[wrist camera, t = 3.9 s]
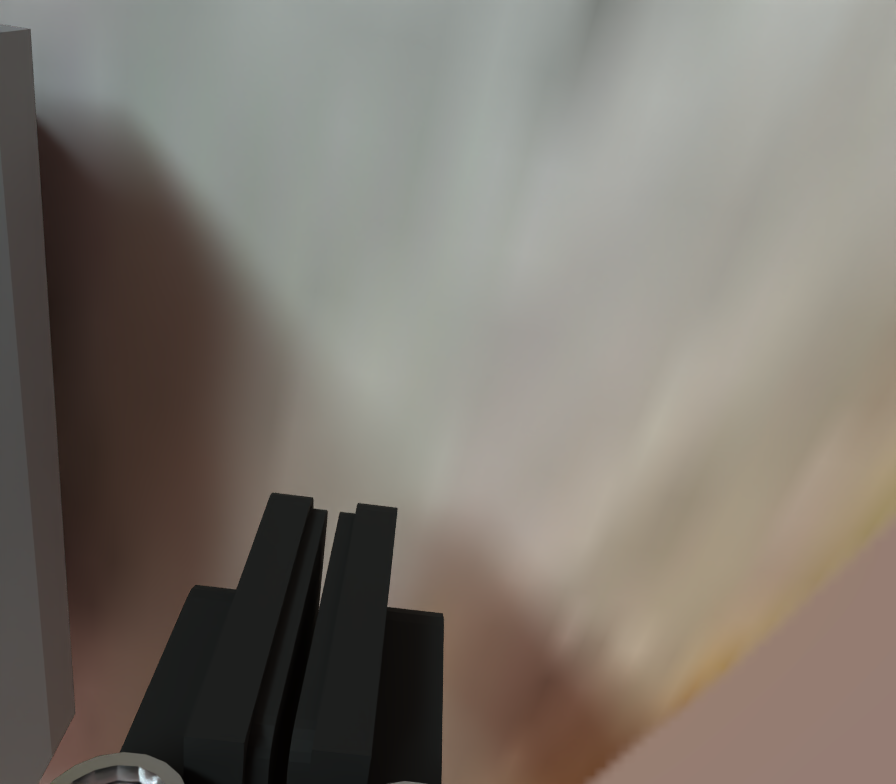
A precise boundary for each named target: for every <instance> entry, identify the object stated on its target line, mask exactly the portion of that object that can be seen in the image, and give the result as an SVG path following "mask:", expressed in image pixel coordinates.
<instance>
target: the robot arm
mask: <svg viewBox="0 0 896 784" xmlns="http://www.w3.org/2000/svg"><path fill="white" fill-rule="evenodd" d="M327 515H328V511H327V510H320V509H313V498H312V497H304V496H296V495H287V494H279V493H272V494H271V495H270V498H269V500H268V503H267V506H266V509H265V511H264V514H263V517H262V520H261V522H260V525H259V528H258V531H257V534H256V536H255V539H254V542H253V545H252V548H251V550H250V553H249V556H248V559H247V562H246V564H245V567H244V570H243V573H242V575H241V578H240V581H239V584H238V587H237V589H236V590H235V589H226V588H217V587H209V586H200V585H195V586H194V587H193V588H192V589H191V591H190V593H189V595H188V597H187V599H186V601H185V604H184V606H183V608H182V611H181V613H180V615H179V618H178V620H177V622H176V624H175V627H174V629H173V631H172V634H171V636H170V638H169V641H168V643H167V645H166V647H165V650H164V652H163V654H162V657H161V659H160V661H159V664H158V666H157V668H156V670H155V673H154V675H153V677H152V680H151V682H150V684H149V687H148V689H147V691H146V694H145V696H144V698H143V700H142V703H141V705H140V707H139V710H138V712H137V714H136V717H135V719H134V721H133V723H132V726H131V728H130V730H129V733H128V735H127V737H126V740H125V742H124V744H123V746H122V749H121V751H120V753H115V754H108V755H102V756H98V757H95V758H92V759H90V760H87V761H85V762H82V763H80V764H77V765H75V766H73V767H72V768H70V769H69V770H67V771H66V772H65V773H63V774H62V775H60V776H59V777H57V778H56V779H54V780H53V781H52V782H51V783H50V784H441V776H442V709H443V642H444V617H443V613H435V612H426V611H417V610H408V609H400V608H391V607H387V603H388V594H389V585H390V575H391V566H392V556H393V547H394V538H395V528H396V519H397V508H394V507H386V506H378V505H369V504H361V503H358V504H357V508H356V514H353V513H345V512H340V514H339V519H338V523H337V528H336V533H335V537H334V542H333V547H332V551H331V556H330V561H329V565H328V570H327V574H326V579H325V584H324V588H323V593H322V598H321V602H320V607H319V601H320V590H321V580H322V569H323V559H324V548H325V537H326V527H327ZM318 611H319V612H318Z"/></svg>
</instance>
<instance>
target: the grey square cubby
mask: <svg viewBox="0 0 896 784" xmlns="http://www.w3.org/2000/svg"><path fill="white" fill-rule="evenodd" d="M74 715H75V702H74V686H73V671H72V656H71V641H70V625H69V610H68V595H67V580H66V564H65V549H64V534H63V519H62V503H61V488H60V473H59V458H58V442H57V427H56V412H55V397H54V381H53V366H52V351H51V336H50V320H49V305H48V290H47V274H46V259H45V244H44V229H43V213H42V198H41V183H40V168H39V152H38V137H37V122H36V107H35V91H34V76H33V61H32V46H31V30H30V29H27V28H21V27H15V26H8V25H2V24H0V784H38V783H39V781H40V780H41V778H42V776H43V774H44V772H45V770H46V768H47V766H48V764H49V762H50V761H51V759H52V757H53V755H54V753H55V751H56V749H57V747H58V745H59V743H60V741H61V740H62V738H63V736H64V734H65V732H66V730H67V728H68V726H69V724H70V722H71V721H72V719H73V717H74Z"/></svg>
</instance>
